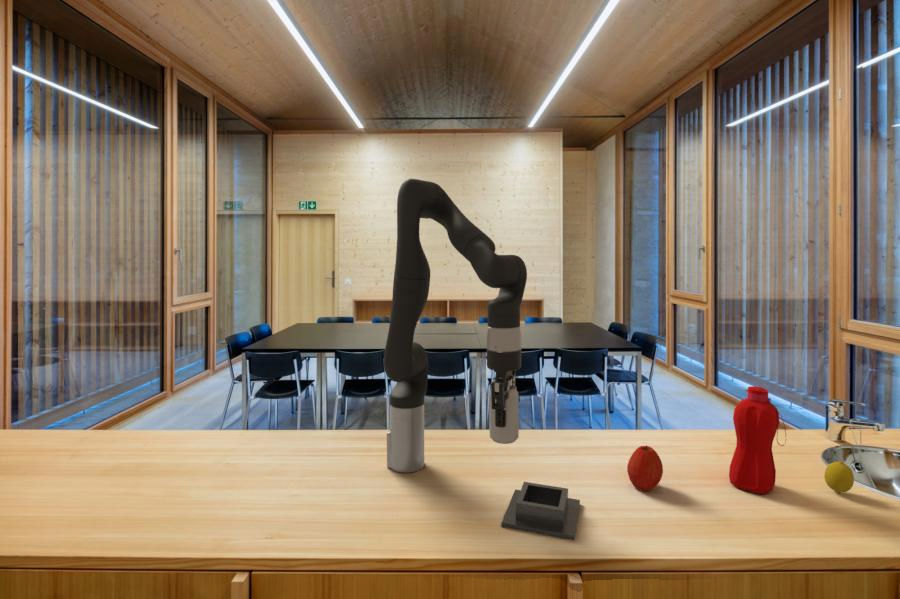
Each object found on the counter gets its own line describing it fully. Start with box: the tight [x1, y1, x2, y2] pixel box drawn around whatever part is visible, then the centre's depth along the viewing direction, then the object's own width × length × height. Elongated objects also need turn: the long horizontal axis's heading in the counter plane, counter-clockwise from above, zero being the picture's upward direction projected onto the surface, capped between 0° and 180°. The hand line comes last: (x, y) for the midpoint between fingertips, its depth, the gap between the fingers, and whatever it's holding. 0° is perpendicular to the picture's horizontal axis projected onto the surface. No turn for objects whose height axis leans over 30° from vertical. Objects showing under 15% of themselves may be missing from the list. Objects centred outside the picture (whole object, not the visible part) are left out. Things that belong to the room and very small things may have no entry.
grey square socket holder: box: [500, 481, 581, 541], centre depth 108 cm, size 15×15×4 cm
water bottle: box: [728, 385, 787, 495], centre depth 120 cm, size 9×11×25 cm
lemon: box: [824, 460, 855, 494], centre depth 118 cm, size 6×6×8 cm
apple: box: [626, 444, 664, 492], centre depth 120 cm, size 8×8×11 cm
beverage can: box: [488, 385, 520, 445], centre depth 108 cm, size 6×6×12 cm
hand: (504, 421), depth 108 cm, fingers closed on beverage can, 6 cm apart
